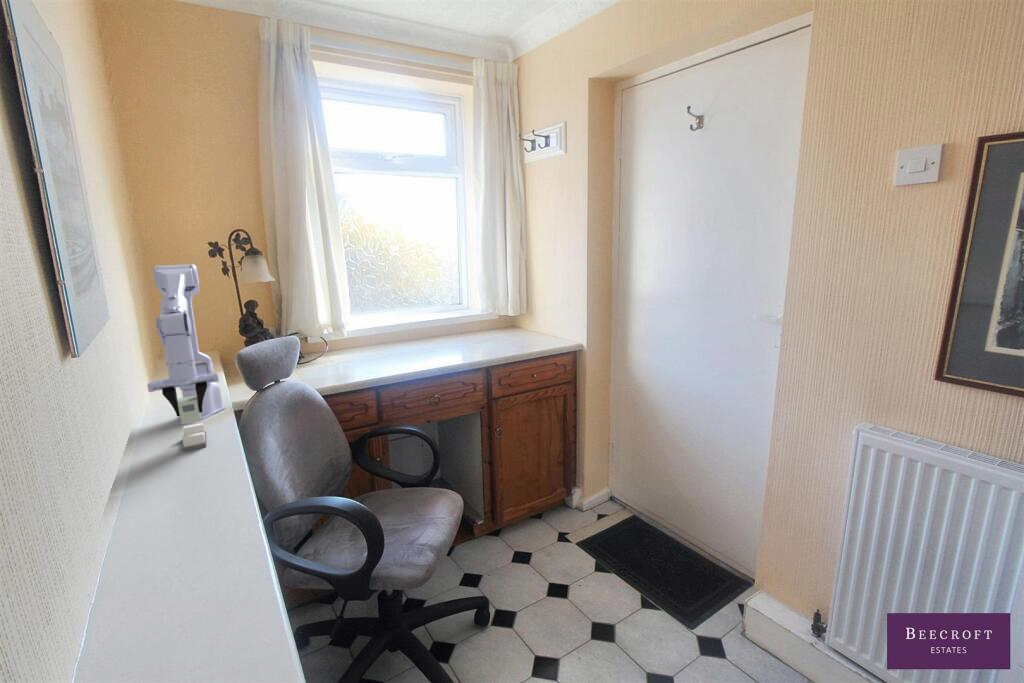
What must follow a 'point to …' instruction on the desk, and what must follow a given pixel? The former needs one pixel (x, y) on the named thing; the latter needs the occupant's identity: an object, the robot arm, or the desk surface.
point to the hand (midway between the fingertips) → (189, 413)
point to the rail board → (194, 437)
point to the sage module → (189, 409)
